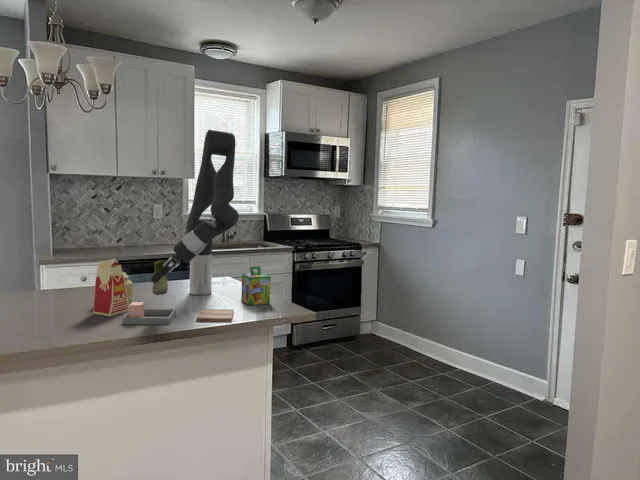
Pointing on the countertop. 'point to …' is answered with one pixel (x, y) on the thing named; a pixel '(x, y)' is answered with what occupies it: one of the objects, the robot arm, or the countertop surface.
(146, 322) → the grey tray
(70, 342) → the countertop surface
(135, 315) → the pink rectangular block
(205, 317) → the board
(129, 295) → the sugar bowl
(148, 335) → the countertop surface
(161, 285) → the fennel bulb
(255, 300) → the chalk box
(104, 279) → the milk carton
